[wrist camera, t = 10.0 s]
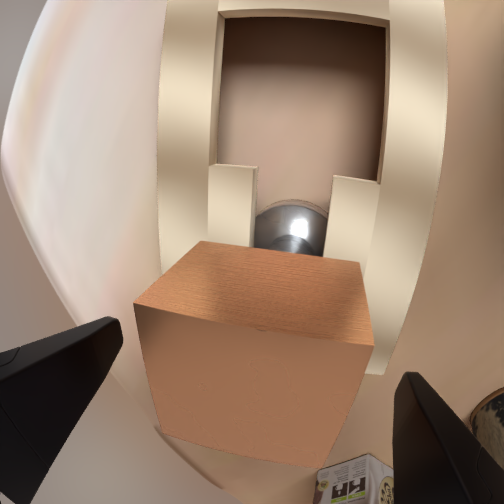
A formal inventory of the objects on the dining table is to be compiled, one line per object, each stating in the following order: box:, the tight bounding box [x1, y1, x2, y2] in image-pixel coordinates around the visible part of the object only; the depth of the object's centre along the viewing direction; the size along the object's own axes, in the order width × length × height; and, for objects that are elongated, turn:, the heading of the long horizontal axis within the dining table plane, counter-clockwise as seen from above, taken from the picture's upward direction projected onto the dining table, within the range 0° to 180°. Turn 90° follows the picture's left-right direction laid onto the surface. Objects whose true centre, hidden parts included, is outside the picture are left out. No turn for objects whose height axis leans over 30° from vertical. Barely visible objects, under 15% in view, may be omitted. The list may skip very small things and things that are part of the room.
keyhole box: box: [157, 0, 448, 375], centre depth 13 cm, size 20×12×4 cm, turn 177°
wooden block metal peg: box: [133, 199, 375, 468], centre depth 12 cm, size 5×5×11 cm
